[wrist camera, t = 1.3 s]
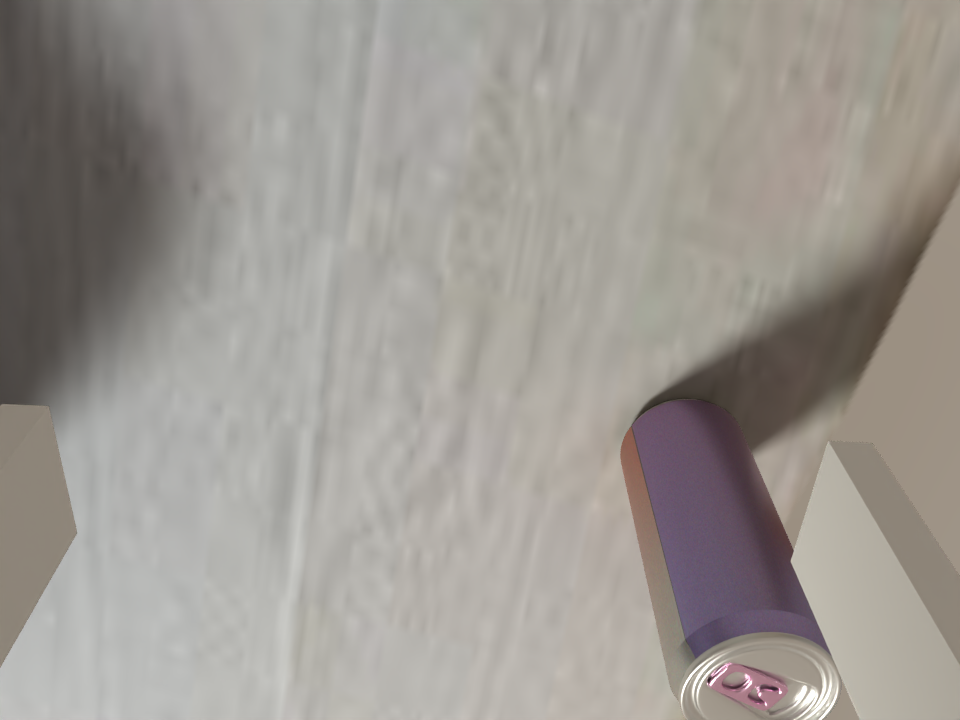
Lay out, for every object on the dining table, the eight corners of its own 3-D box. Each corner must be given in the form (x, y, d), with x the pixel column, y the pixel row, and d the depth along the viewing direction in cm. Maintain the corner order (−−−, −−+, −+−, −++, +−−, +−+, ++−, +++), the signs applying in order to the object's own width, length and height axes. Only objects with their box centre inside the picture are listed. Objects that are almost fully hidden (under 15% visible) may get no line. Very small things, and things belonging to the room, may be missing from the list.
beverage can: (667, 371, 42) (748, 611, 29) (765, 425, 43) (885, 676, 30) (594, 459, 44) (640, 715, 31) (690, 507, 46) (770, 770, 33)
